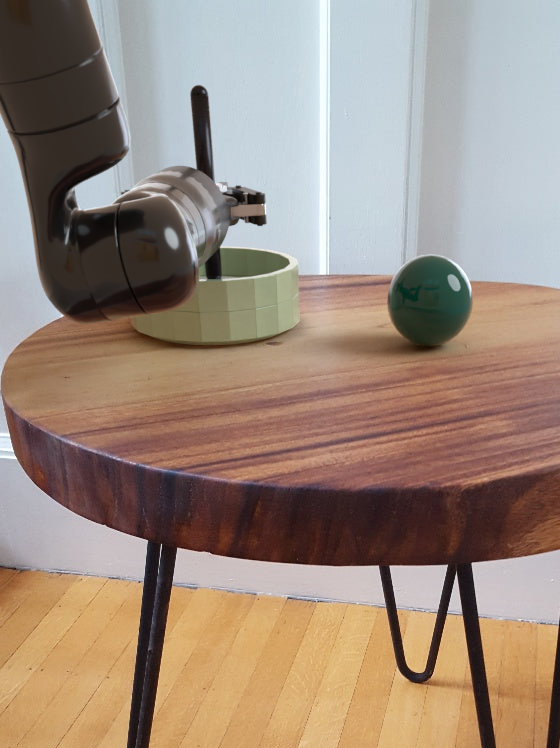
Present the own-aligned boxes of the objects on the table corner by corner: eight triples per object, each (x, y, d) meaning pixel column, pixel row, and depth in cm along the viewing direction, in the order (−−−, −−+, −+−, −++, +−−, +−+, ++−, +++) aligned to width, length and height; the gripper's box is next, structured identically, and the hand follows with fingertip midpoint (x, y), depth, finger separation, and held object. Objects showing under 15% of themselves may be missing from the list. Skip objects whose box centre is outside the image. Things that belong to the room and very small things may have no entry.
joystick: (185, 322, 93) (162, 86, 82) (187, 307, 98) (165, 83, 87) (247, 320, 93) (232, 86, 82) (246, 306, 98) (232, 83, 87)
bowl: (125, 351, 88) (116, 282, 85) (139, 307, 102) (131, 247, 99) (305, 346, 90) (303, 279, 87) (294, 304, 104) (292, 245, 101)
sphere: (447, 361, 86) (452, 267, 82) (371, 348, 90) (371, 257, 85) (483, 341, 92) (490, 252, 88) (410, 329, 96) (413, 243, 91)
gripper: (254, 172, 75) (282, 150, 90) (83, 170, 76) (138, 149, 90) (260, 273, 79) (285, 237, 94) (97, 270, 80) (147, 234, 94)
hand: (213, 194), depth 92 cm, fingers closed on joystick
